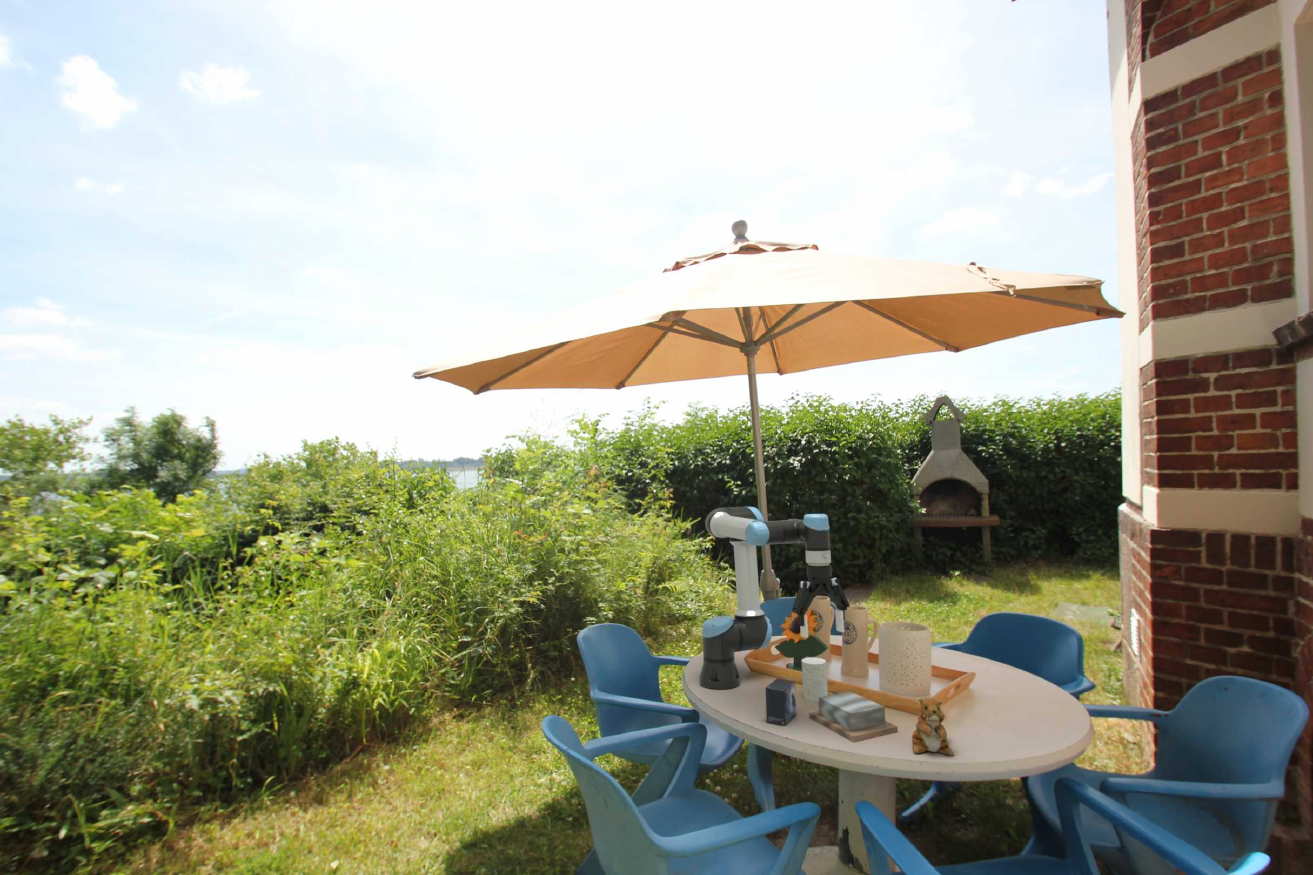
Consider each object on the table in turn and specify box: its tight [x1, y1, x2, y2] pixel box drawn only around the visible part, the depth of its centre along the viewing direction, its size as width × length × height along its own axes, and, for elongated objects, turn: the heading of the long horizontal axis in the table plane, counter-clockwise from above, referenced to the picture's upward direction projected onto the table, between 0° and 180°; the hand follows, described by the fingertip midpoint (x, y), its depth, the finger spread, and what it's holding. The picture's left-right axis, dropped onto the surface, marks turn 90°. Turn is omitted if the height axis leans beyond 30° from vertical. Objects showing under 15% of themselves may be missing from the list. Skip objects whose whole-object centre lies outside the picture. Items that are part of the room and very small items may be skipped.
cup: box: [801, 657, 829, 702], centre depth 197 cm, size 8×8×12 cm
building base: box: [808, 690, 899, 743], centre depth 173 cm, size 20×16×6 cm
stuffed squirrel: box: [911, 697, 955, 756], centre depth 157 cm, size 10×14×13 cm
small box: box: [765, 678, 797, 727], centre depth 179 cm, size 11×6×10 cm, turn 148°
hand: (822, 634), depth 177 cm, fingers open, 13 cm apart
